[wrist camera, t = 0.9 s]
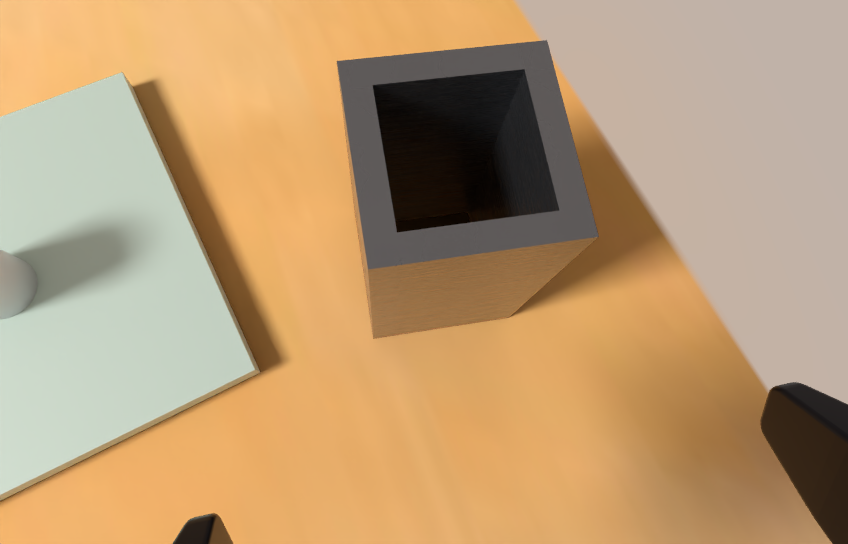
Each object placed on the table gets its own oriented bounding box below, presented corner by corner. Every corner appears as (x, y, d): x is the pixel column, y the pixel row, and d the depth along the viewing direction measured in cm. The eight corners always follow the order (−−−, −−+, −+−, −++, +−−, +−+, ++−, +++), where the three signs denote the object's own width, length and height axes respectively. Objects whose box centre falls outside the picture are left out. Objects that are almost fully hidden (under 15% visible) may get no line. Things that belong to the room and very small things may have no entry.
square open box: (508, 317, 23) (598, 236, 14) (373, 338, 23) (367, 269, 13) (482, 192, 25) (546, 40, 15) (354, 209, 24) (336, 60, 14)
